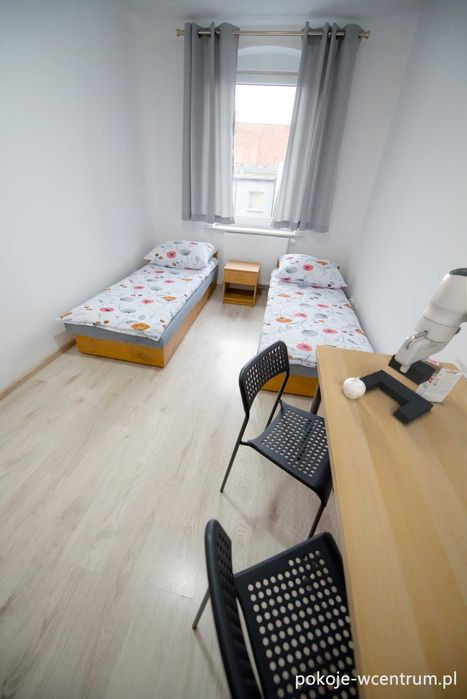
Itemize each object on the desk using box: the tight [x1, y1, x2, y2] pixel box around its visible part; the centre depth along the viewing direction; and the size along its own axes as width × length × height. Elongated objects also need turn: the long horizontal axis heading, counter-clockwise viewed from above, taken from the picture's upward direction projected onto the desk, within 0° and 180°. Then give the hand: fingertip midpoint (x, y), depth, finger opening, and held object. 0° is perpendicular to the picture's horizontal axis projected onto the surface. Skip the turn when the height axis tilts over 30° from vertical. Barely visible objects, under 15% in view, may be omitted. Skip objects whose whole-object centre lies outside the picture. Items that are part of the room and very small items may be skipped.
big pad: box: [359, 369, 435, 426], centre depth 96 cm, size 20×14×3 cm
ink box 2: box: [415, 367, 465, 404], centre depth 94 cm, size 4×8×15 cm, turn 85°
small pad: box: [387, 353, 436, 386], centre depth 82 cm, size 10×6×4 cm, turn 31°
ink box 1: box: [424, 357, 444, 374], centre depth 106 cm, size 10×4×8 cm, turn 48°
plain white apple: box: [342, 375, 366, 400], centre depth 93 cm, size 7×7×8 cm
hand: (410, 368), depth 82 cm, fingers closed on small pad, 6 cm apart
